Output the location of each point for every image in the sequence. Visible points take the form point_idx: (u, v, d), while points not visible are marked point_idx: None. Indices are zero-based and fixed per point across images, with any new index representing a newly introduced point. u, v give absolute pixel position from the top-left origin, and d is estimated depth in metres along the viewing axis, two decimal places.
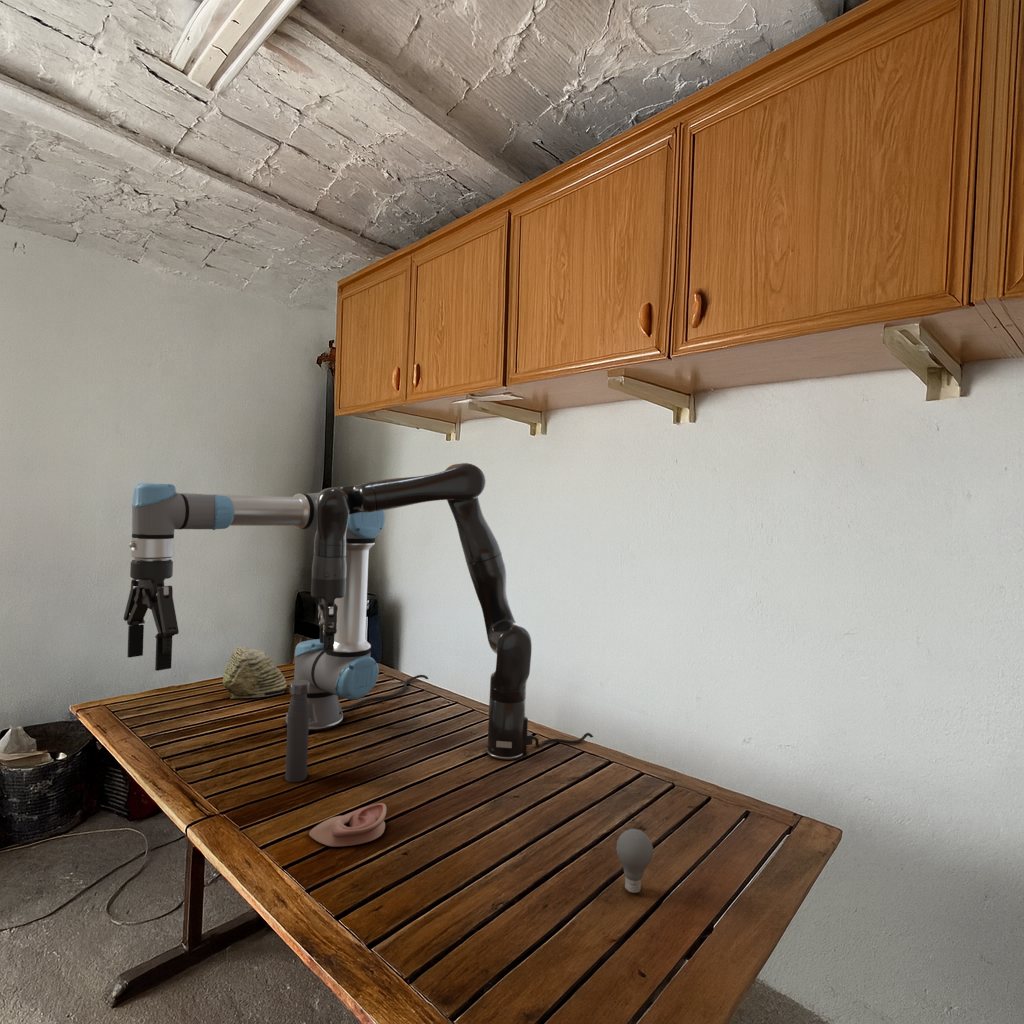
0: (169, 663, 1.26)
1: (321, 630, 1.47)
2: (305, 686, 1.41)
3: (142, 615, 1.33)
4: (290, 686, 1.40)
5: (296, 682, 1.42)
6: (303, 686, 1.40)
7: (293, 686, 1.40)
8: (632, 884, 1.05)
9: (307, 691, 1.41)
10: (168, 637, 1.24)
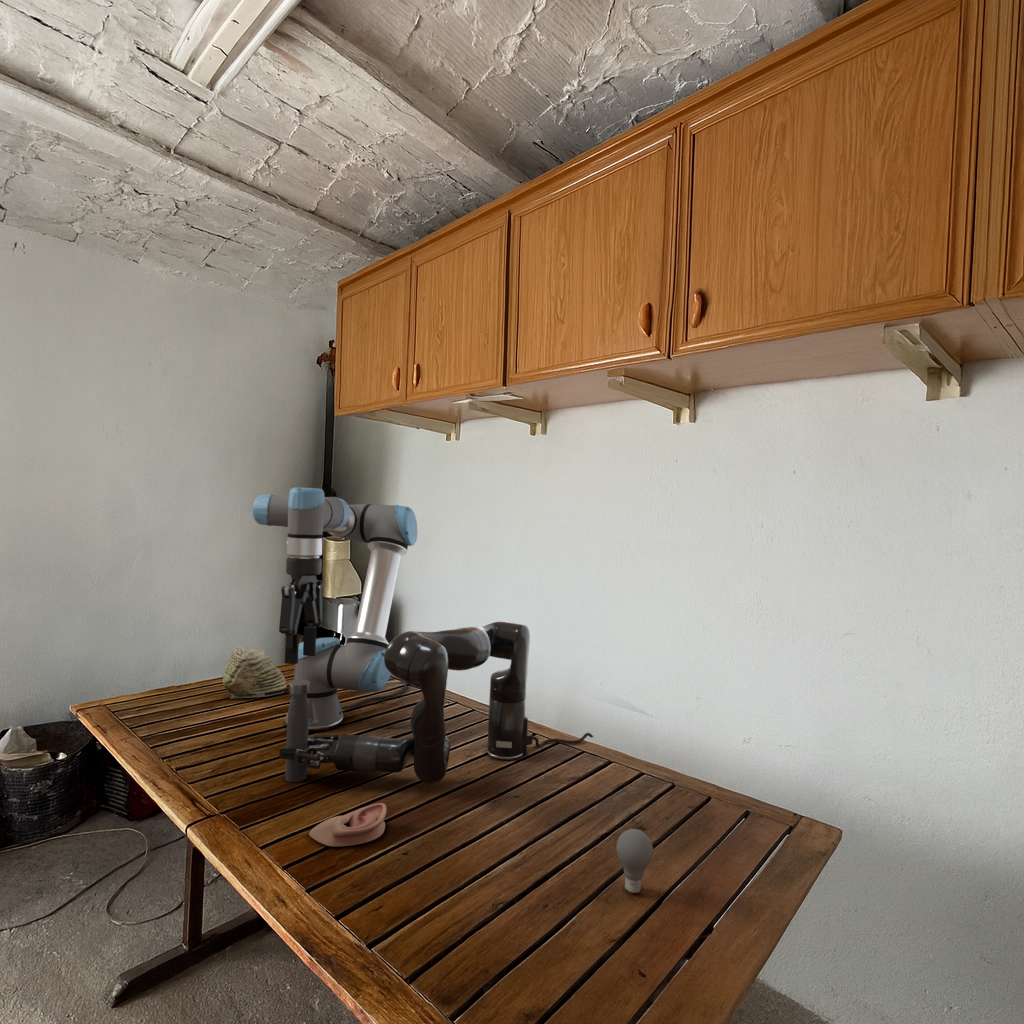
0: (294, 659, 1.38)
1: None
2: (305, 686, 1.41)
3: (312, 615, 1.44)
4: (290, 686, 1.40)
5: (296, 682, 1.42)
6: (303, 686, 1.40)
7: (293, 686, 1.40)
8: (632, 884, 1.05)
9: (307, 691, 1.41)
10: (288, 634, 1.36)
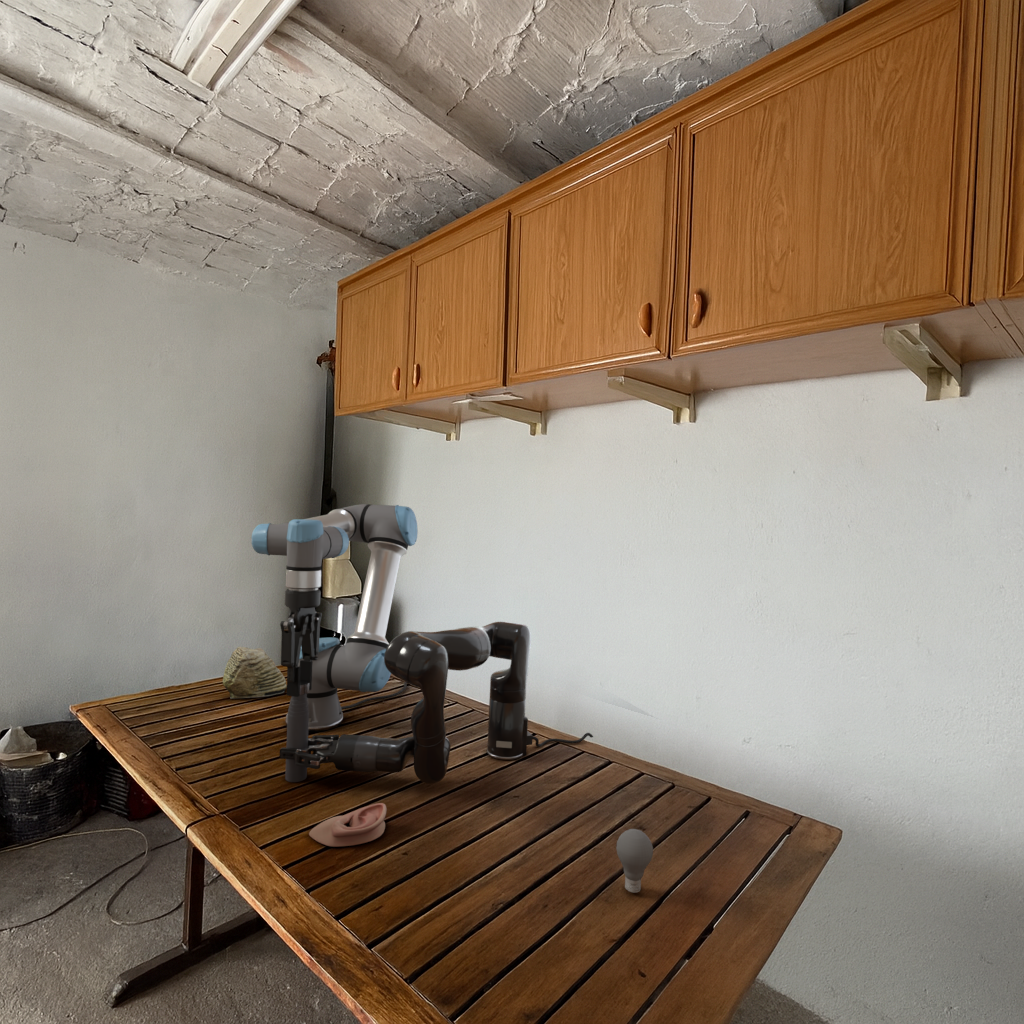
0: (296, 692, 1.39)
1: None
2: (305, 686, 1.41)
3: (309, 648, 1.44)
4: None
5: None
6: (303, 686, 1.40)
7: None
8: (632, 884, 1.05)
9: (307, 691, 1.41)
10: (290, 667, 1.38)
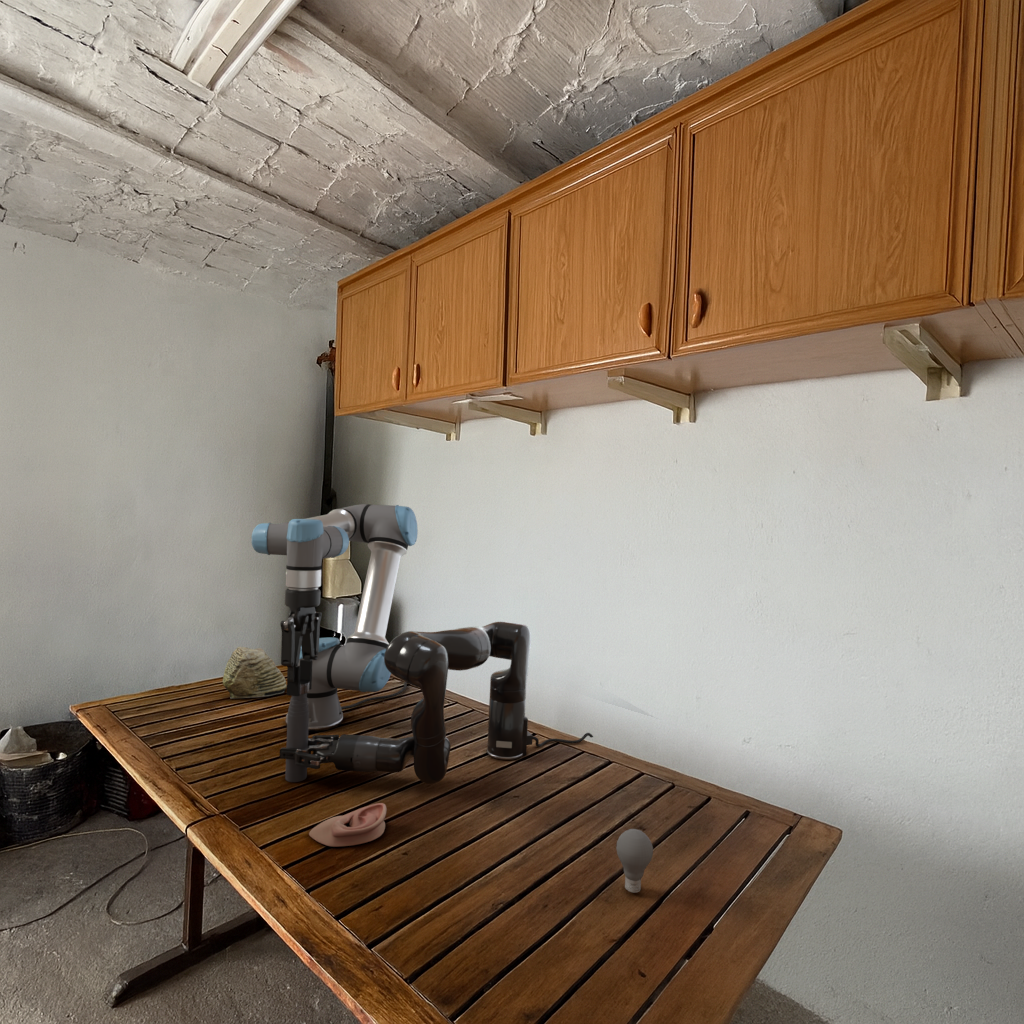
0: (296, 691, 1.39)
1: None
2: None
3: (309, 647, 1.44)
4: (306, 686, 1.41)
5: None
6: None
7: (309, 683, 1.42)
8: (632, 884, 1.05)
9: None
10: (290, 667, 1.38)
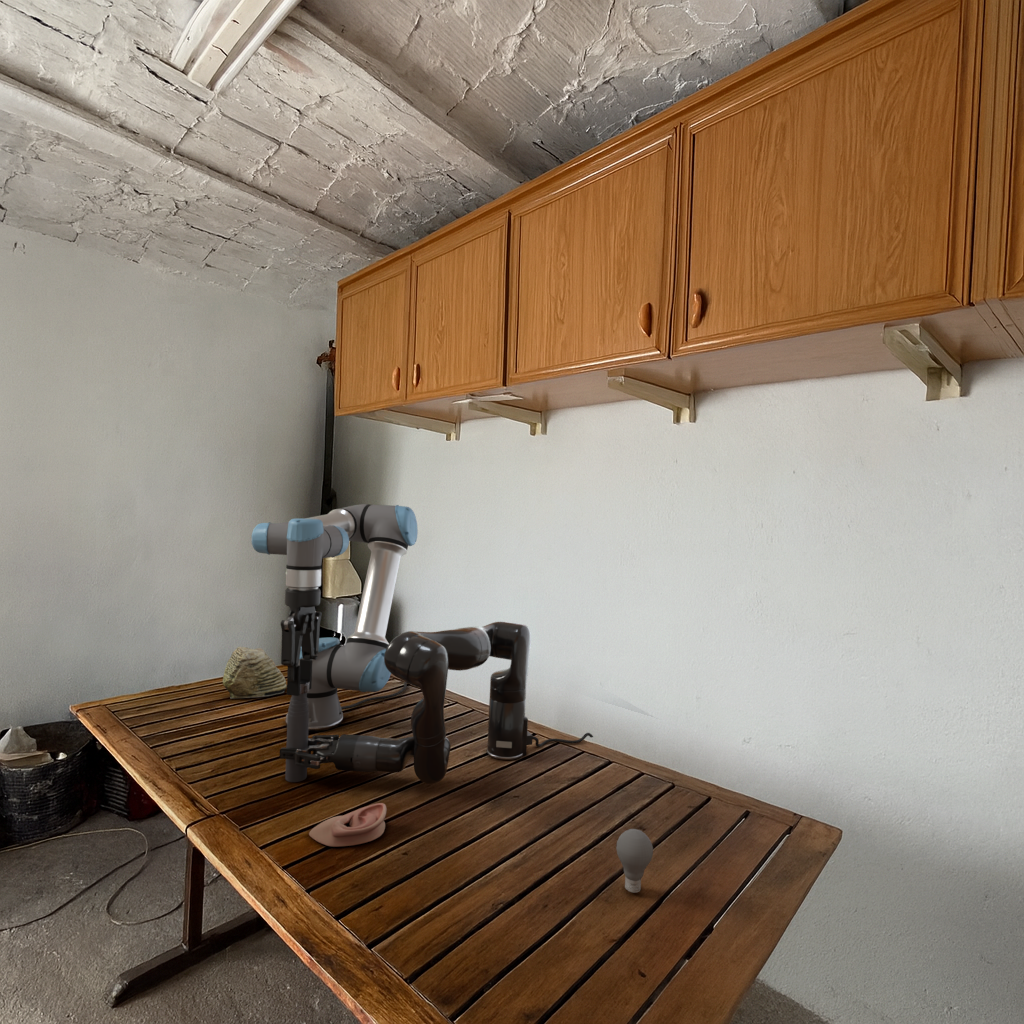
0: (296, 691, 1.39)
1: None
2: None
3: (309, 647, 1.44)
4: None
5: (302, 681, 1.42)
6: None
7: None
8: (632, 884, 1.05)
9: None
10: (290, 667, 1.38)
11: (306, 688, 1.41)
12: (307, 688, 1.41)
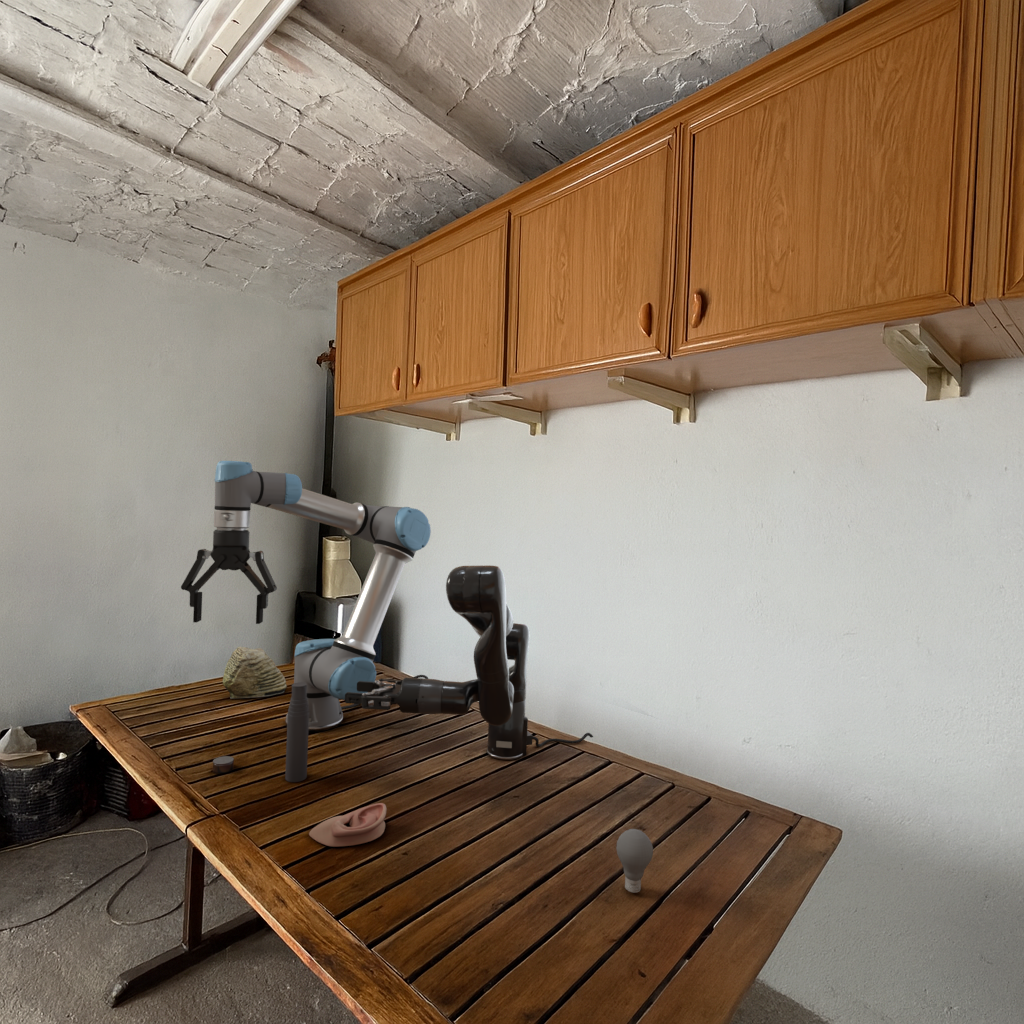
0: (262, 617, 1.46)
1: None
2: None
3: (205, 582, 1.44)
4: (223, 765, 1.43)
5: (221, 761, 1.44)
6: (233, 760, 1.45)
7: (228, 764, 1.43)
8: (632, 884, 1.05)
9: None
10: None
11: None
12: None
